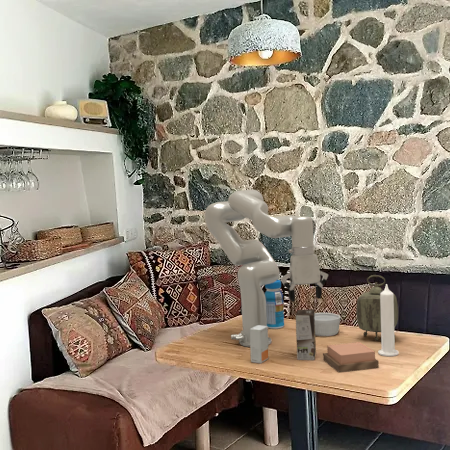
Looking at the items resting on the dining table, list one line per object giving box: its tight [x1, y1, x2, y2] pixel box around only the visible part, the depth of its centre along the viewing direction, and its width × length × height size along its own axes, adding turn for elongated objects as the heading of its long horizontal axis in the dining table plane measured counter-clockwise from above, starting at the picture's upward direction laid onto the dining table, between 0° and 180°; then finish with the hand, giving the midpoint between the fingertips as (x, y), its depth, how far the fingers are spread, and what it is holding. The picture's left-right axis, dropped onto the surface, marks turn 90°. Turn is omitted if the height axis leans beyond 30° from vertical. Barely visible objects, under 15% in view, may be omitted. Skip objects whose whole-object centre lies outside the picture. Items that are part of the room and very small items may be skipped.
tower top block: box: [326, 341, 376, 364], centre depth 202 cm, size 12×12×3 cm
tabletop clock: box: [355, 274, 399, 342], centre depth 229 cm, size 14×9×25 cm, turn 63°
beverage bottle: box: [264, 279, 285, 330], centre depth 256 cm, size 8×8×20 cm
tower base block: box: [322, 352, 380, 373], centre depth 203 cm, size 14×14×3 cm
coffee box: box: [295, 309, 317, 361], centre depth 213 cm, size 9×6×16 cm
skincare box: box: [249, 325, 270, 364], centre depth 210 cm, size 6×4×12 cm
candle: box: [377, 283, 400, 357], centre depth 211 cm, size 7×7×25 cm
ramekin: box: [314, 312, 341, 337], centre depth 243 cm, size 13×13×7 cm
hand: (305, 299), depth 211 cm, fingers open, 9 cm apart
